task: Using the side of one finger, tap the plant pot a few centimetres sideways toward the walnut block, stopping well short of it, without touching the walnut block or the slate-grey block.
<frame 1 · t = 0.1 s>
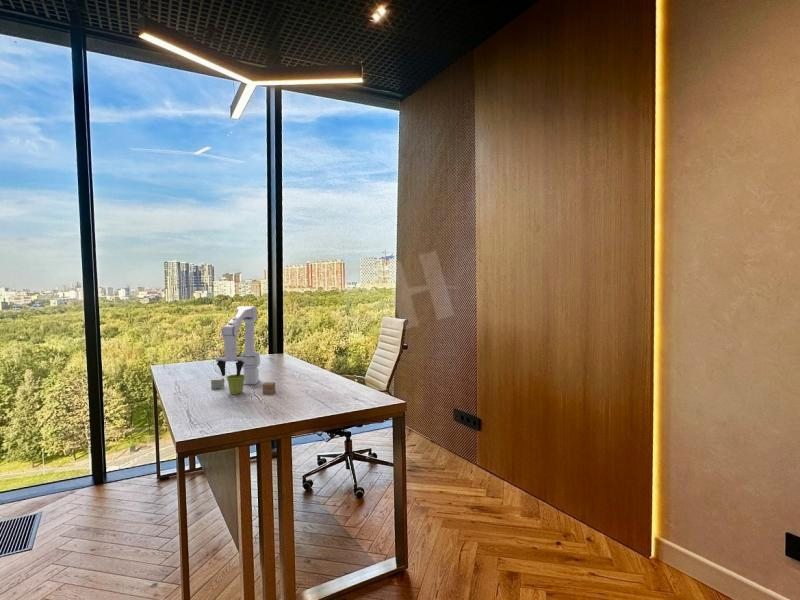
hand: (231, 375, 229), 10 cm above the table, tool pointing down, fingers open, 7 cm apart
plant pot: (236, 393, 235), on the table
slate block: (217, 388, 246), on the table
walnut block: (269, 392, 235), on the table
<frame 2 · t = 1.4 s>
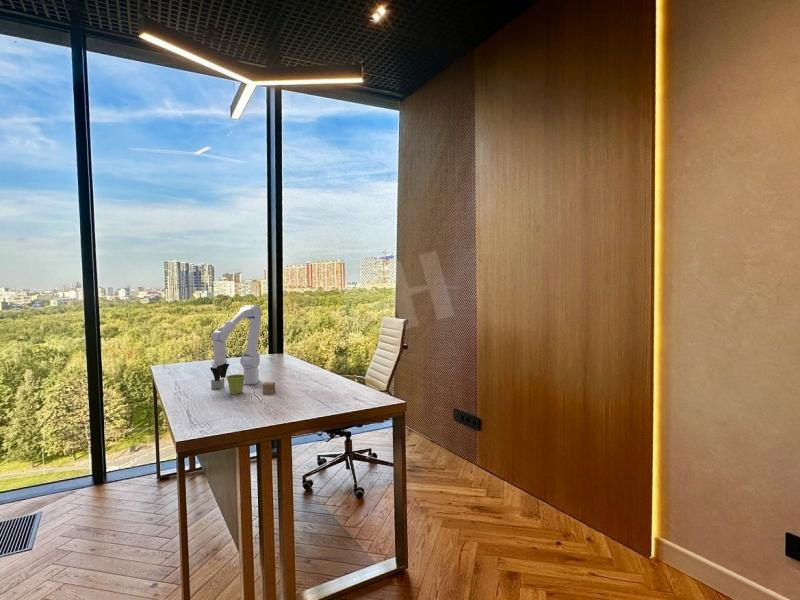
hand: (220, 379, 238), 6 cm above the table, tool pointing down, fingers open, 7 cm apart
nothing on the table moved.
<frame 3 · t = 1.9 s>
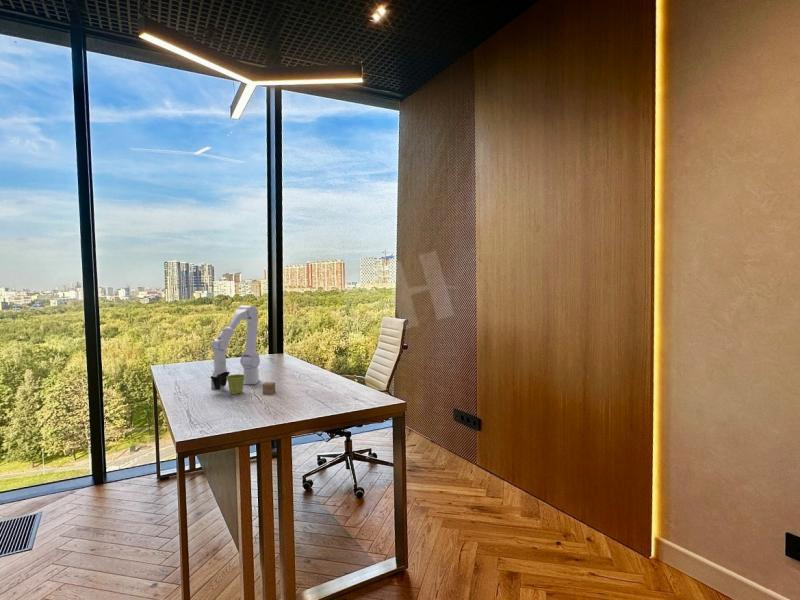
hand: (220, 387, 239), 2 cm above the table, tool pointing down, fingers open, 7 cm apart
nothing on the table moved.
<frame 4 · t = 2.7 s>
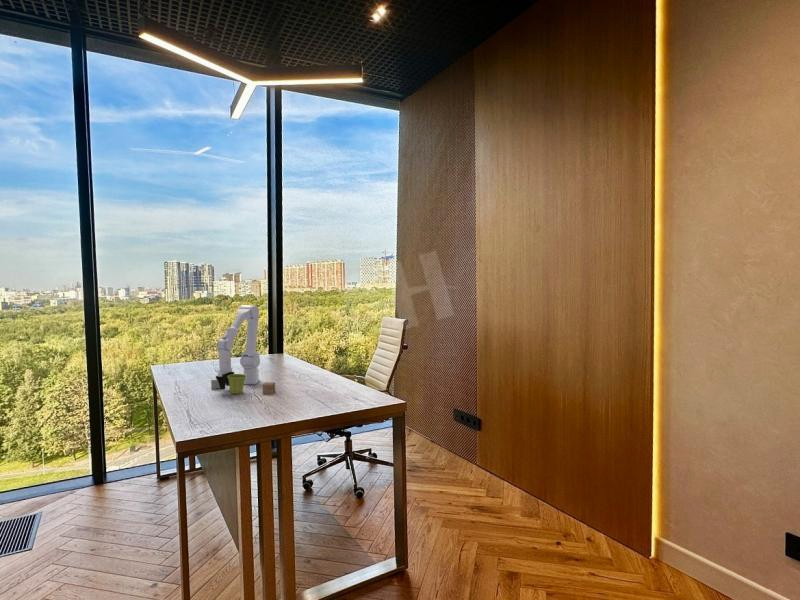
hand: (225, 387, 238), 2 cm above the table, tool pointing down, fingers open, 7 cm apart
plant pot: (236, 392, 235), on the table, touching gripper
everything else where it was.
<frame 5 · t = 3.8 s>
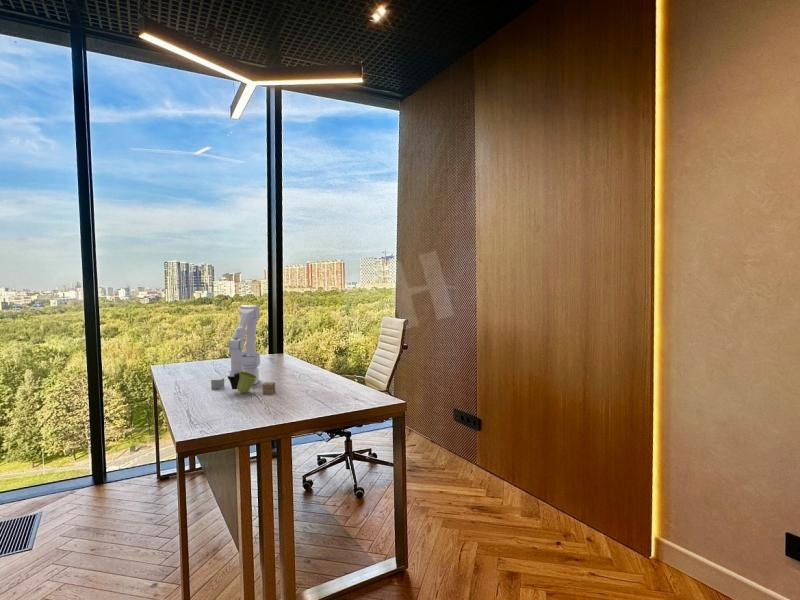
hand: (237, 387, 238), 2 cm above the table, tool pointing down, fingers open, 7 cm apart
plant pot: (242, 391, 235), point 1 cm above the table, touching gripper
everything else where it was.
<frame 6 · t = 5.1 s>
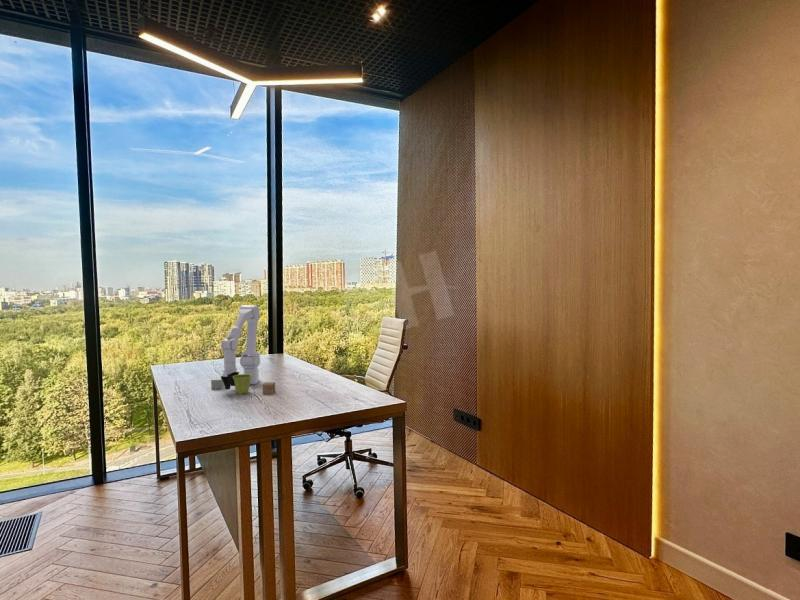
hand: (230, 387, 238), 2 cm above the table, tool pointing down, fingers open, 7 cm apart
plant pot: (242, 393, 235), on the table
everything else where it was.
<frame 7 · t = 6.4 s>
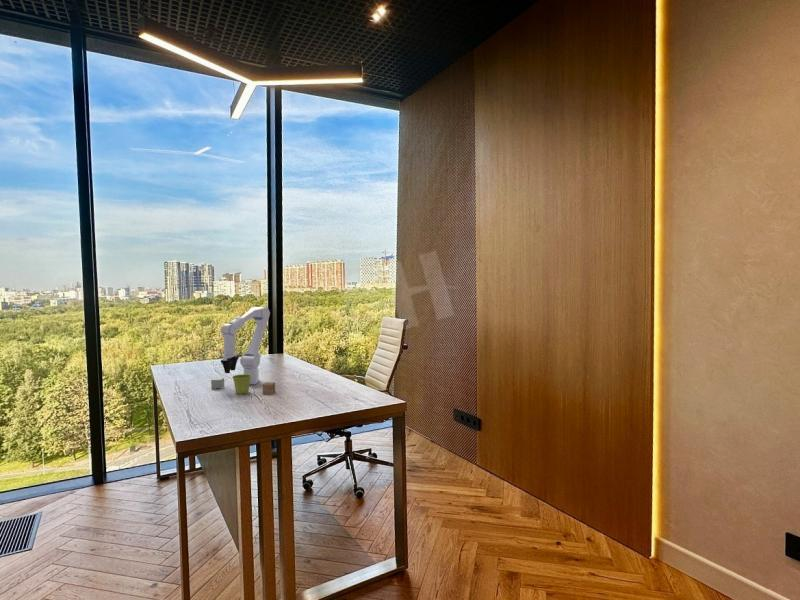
hand: (230, 371, 243), 9 cm above the table, tool pointing down, fingers open, 7 cm apart
nothing on the table moved.
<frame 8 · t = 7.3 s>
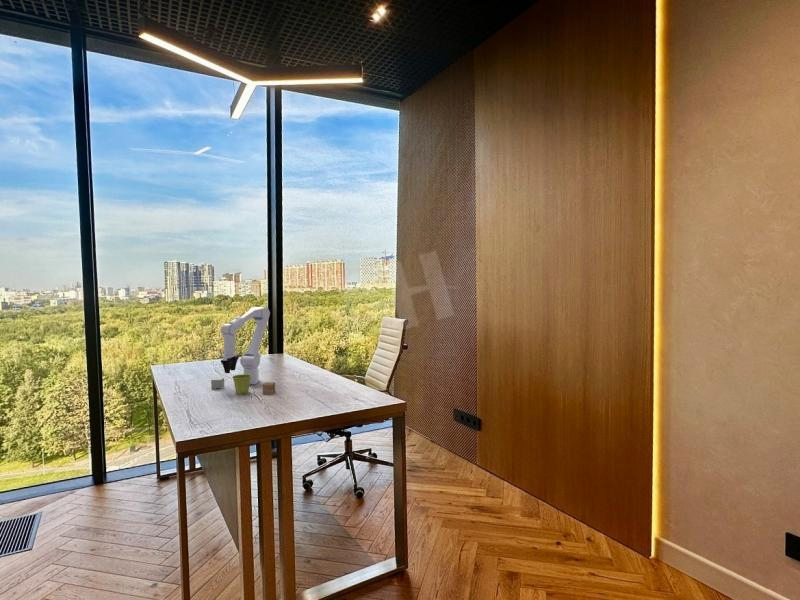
hand: (230, 371, 243), 9 cm above the table, tool pointing down, fingers open, 7 cm apart
nothing on the table moved.
at the end: plant pot inside the target area (2.7 cm from its centre), on the table; walnut block moved 0.1 cm from its start; slate block moved 0.1 cm from its start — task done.
